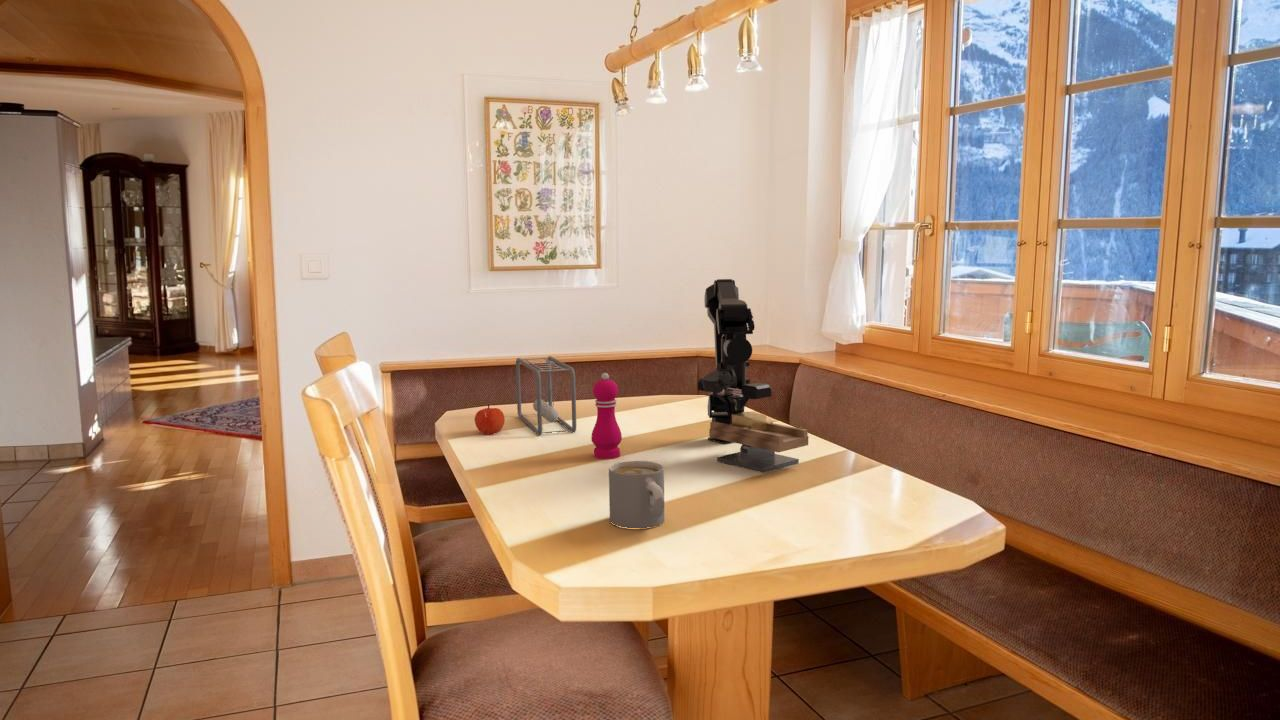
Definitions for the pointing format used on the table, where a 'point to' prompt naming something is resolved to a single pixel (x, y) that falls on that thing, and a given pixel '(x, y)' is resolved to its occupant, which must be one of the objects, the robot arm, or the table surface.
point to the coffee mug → (636, 494)
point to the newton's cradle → (540, 404)
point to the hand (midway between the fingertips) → (733, 423)
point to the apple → (489, 420)
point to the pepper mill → (606, 420)
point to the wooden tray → (761, 436)
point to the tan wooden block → (749, 420)
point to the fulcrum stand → (757, 459)
